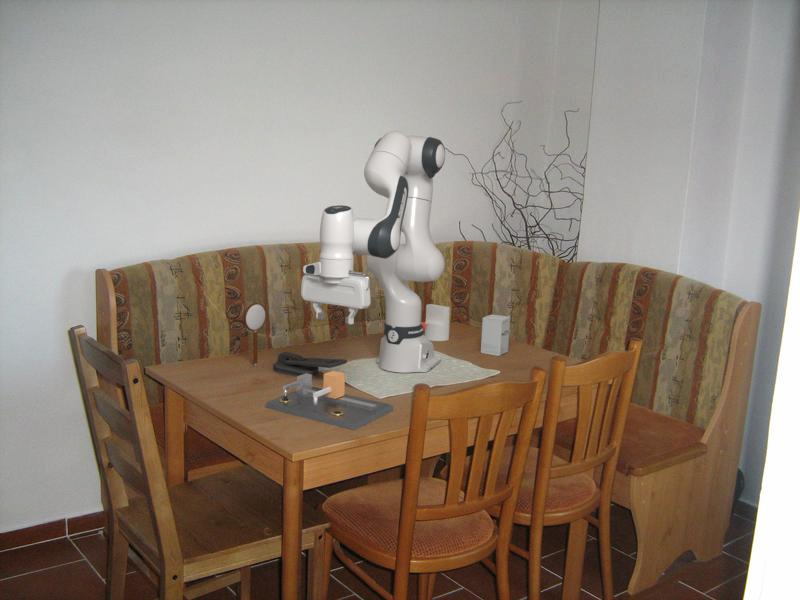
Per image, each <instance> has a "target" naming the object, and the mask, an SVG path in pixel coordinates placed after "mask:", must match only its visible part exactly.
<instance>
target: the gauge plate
mask: <svg viewBox="0 0 800 600" xmlns="http://www.w3.org/2000/svg"><path fill="white" fill-rule="evenodd" d="M294 388H296V389H295V391H293V392H291V393H288V390H291V389H294ZM322 389H323V388H320V387H316V386H313V378H312V374H307V373H305V374H303V375H300V376H297V377H296V381H293V382H290V383H288V384H284V385H283V386H282V390H283V394H282V396H280V397H279V396H278V397H276V398H274V399H272V400H269V401H267V402H266V408H267V409H269V410H274V411H277V412H282V413H285V414H289V415H293V416H298V417H301V418H305V419H309V420H314V421H317V422H321V423H325V424H329V425H331V426H332V425H333V426H336V427H339V428H344V429H348V430H352V431H355V430H358V429H359V428H361V427H363V426H366V425H367V424H369V423H372V422H373V421H376V420H377V419H380V418H381V417H384V416H385V415H388V414H389V413H391V412H394V404H391V403H390V404H389V403H385V402H381V401H377V400H374V399H373V400H372V399H369V398H363V397H359V396H355V395H351V394H346V393H344V395H343V396H341V397H339V398H336V399H334V398H330V397H326V396H323V395H321V396H319V397H317V406H314V397H313V393H315V392H317V391H320V390H322Z"/></svg>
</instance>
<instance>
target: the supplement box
mask: <svg viewBox="0 0 800 600" xmlns="http://www.w3.org/2000/svg"><path fill="white" fill-rule="evenodd" d="M481 323H482V325H481V343H480V353H481V354H485V355H491V356H496V357H500V356H502V355H504V354H507V353H508V352H509V344H510V342H509V339H510V328H511V327H510V323H511V317H510V316H506V315H501V314H489V315H486V316H484V317H482V322H481Z"/></svg>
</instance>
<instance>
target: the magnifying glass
mask: <svg viewBox="0 0 800 600" xmlns="http://www.w3.org/2000/svg"><path fill="white" fill-rule="evenodd" d="M266 320H267V311H266V308H265V307H264V305H262V304H261V303H258V302H255V303H251V304H250V305H249V306H248V307H247V308H246V309H245V311H244V315H243V322H244V326H245V327H246V329H248V330H249V331H253V340H252V341H253V344H252V346H253V347H252V348H253V365H254V366H255V367H257V366H258V365H257V364H258V330H260V329H261V328H262V327H264V325H265V323H266Z"/></svg>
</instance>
